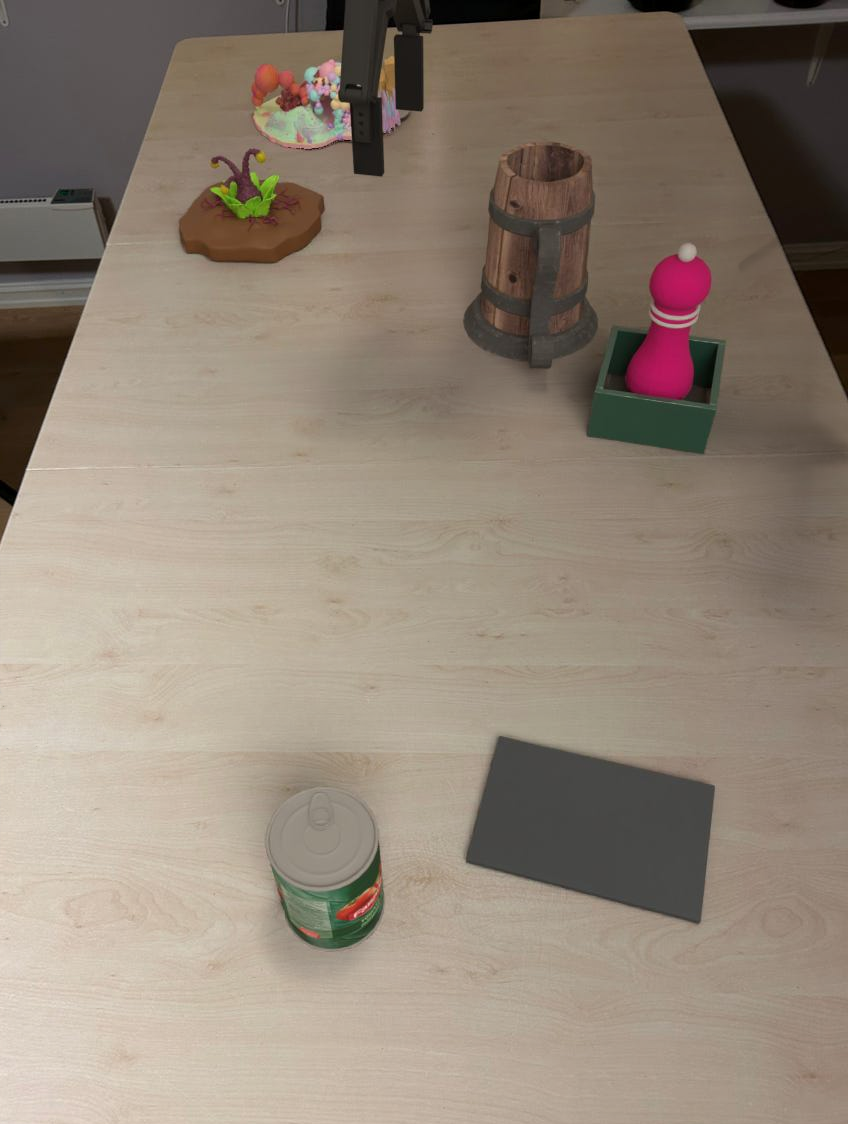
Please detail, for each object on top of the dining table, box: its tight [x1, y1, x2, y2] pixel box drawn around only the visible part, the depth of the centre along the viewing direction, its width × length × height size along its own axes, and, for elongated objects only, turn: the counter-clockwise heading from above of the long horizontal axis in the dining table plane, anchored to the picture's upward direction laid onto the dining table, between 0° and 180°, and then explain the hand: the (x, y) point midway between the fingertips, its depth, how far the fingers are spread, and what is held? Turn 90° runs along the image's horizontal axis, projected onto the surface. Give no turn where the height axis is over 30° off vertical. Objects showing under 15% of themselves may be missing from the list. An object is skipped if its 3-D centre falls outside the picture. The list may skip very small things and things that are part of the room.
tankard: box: [463, 141, 599, 370], centre depth 112 cm, size 24×17×20 cm
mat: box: [465, 735, 716, 924], centre depth 78 cm, size 18×12×1 cm, turn 73°
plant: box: [178, 148, 326, 264], centre depth 135 cm, size 20×20×11 cm
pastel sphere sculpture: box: [250, 55, 411, 150], centre depth 157 cm, size 25×24×9 cm
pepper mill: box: [624, 242, 713, 400], centre depth 102 cm, size 7×7×20 cm
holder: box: [587, 325, 727, 455], centre depth 108 cm, size 13×13×6 cm
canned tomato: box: [264, 785, 386, 952], centre depth 71 cm, size 8×8×11 cm
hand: (390, 140), depth 92 cm, fingers open, 13 cm apart
